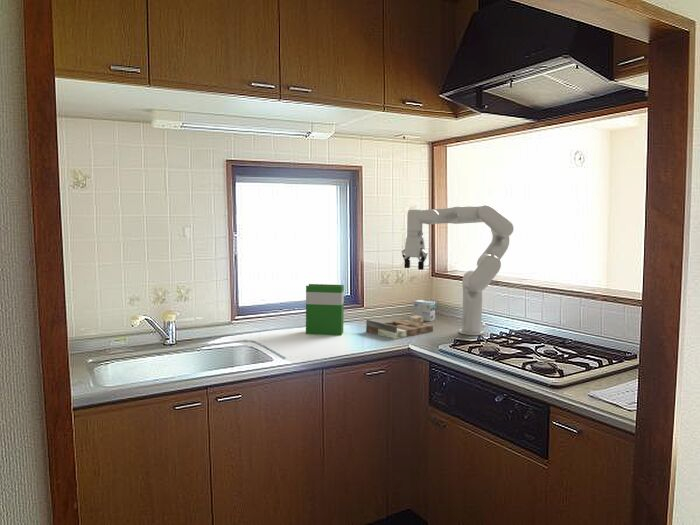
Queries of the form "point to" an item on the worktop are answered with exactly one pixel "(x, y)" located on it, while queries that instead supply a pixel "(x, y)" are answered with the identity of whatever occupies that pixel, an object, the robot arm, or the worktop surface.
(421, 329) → the board
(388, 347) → the worktop surface
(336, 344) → the worktop surface
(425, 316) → the light bulb box
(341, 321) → the green cereal box
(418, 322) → the maple block
